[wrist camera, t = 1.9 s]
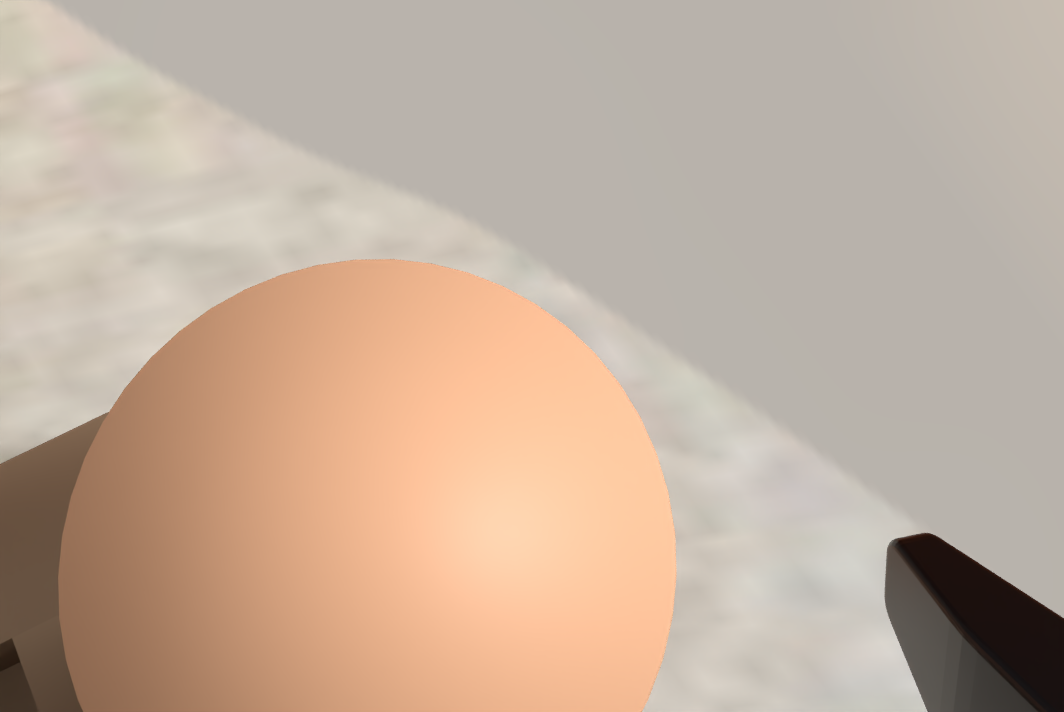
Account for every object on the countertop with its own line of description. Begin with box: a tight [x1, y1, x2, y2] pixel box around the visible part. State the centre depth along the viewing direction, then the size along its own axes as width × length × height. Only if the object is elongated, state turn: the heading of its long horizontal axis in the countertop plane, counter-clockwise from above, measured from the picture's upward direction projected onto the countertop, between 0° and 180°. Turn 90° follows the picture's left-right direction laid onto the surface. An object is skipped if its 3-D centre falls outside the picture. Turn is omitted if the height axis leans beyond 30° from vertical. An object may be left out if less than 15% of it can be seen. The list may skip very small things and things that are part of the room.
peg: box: [58, 259, 676, 712], centre depth 12 cm, size 4×4×12 cm
